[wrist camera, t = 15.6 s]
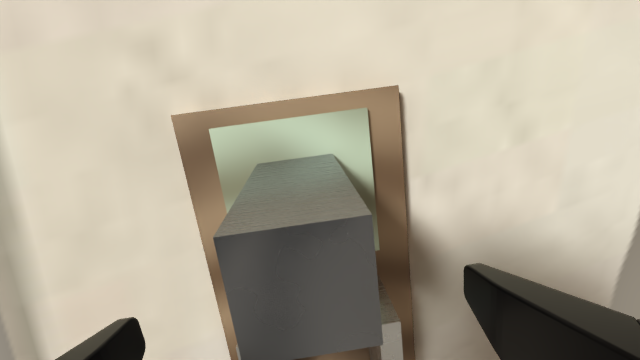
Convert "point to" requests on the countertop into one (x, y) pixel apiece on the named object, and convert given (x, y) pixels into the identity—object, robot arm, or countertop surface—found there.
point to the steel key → (300, 262)
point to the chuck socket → (383, 331)
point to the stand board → (297, 142)
